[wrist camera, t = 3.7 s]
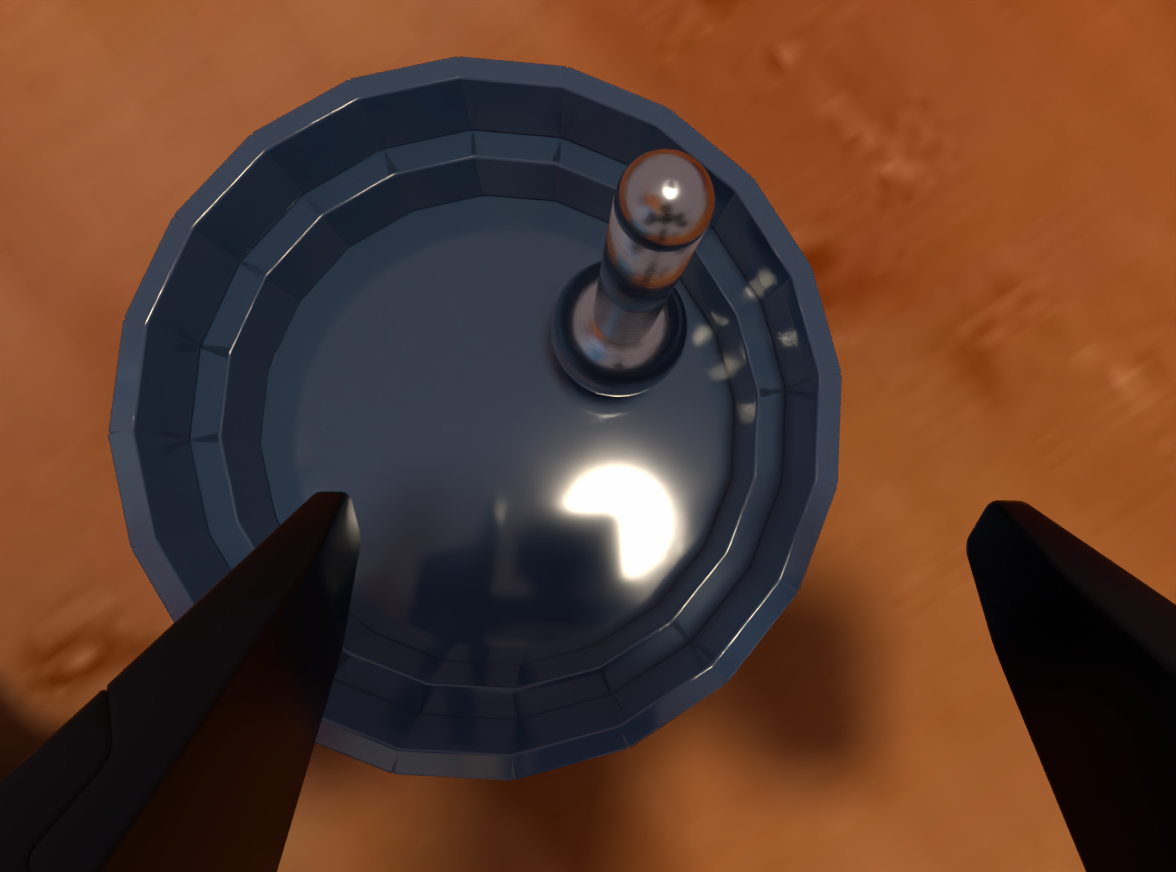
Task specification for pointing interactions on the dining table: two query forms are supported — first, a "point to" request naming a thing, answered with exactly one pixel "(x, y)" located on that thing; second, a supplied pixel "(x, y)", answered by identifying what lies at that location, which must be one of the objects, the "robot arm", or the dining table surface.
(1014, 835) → the dining table surface
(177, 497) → the dark blue round bowl
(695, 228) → the silver metal pestle
